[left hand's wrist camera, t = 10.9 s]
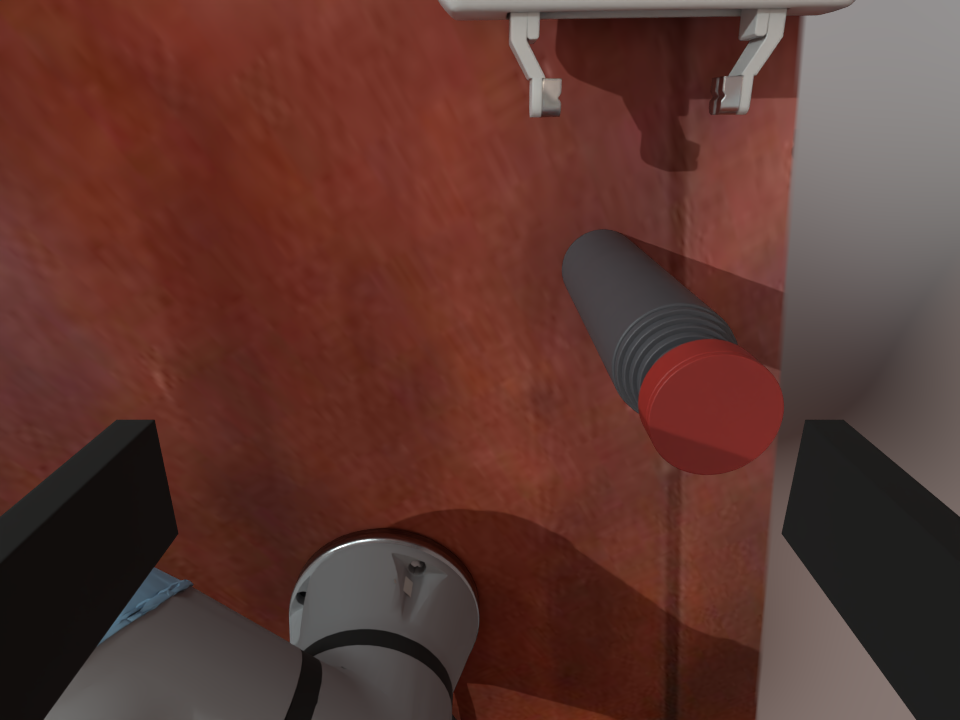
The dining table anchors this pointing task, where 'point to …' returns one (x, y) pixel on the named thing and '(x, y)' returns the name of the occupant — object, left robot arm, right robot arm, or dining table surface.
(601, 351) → the bottle
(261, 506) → the dining table surface
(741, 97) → the right robot arm
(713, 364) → the cap
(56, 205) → the dining table surface
